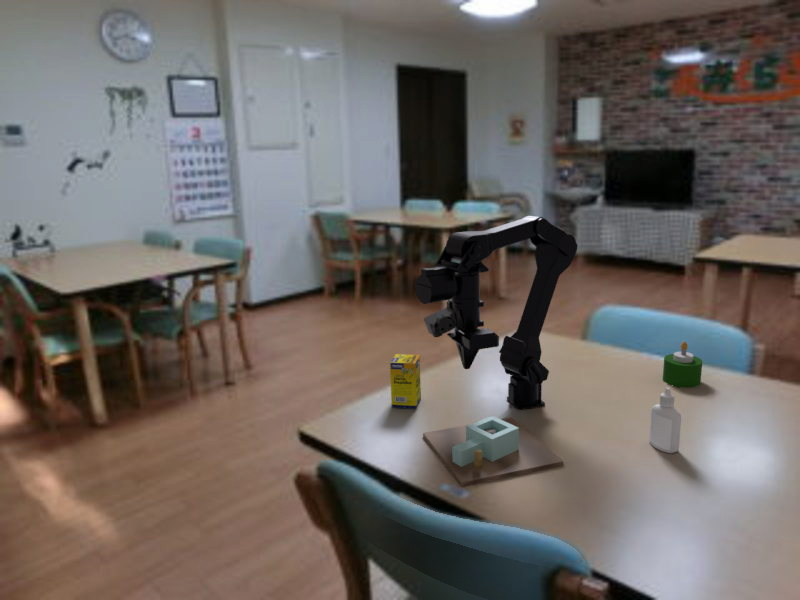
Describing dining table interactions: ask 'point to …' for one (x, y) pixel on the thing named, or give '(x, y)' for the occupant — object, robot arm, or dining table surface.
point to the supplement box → (405, 381)
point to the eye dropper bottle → (665, 424)
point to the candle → (682, 369)
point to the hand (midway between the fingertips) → (466, 368)
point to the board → (482, 470)
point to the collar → (487, 441)
